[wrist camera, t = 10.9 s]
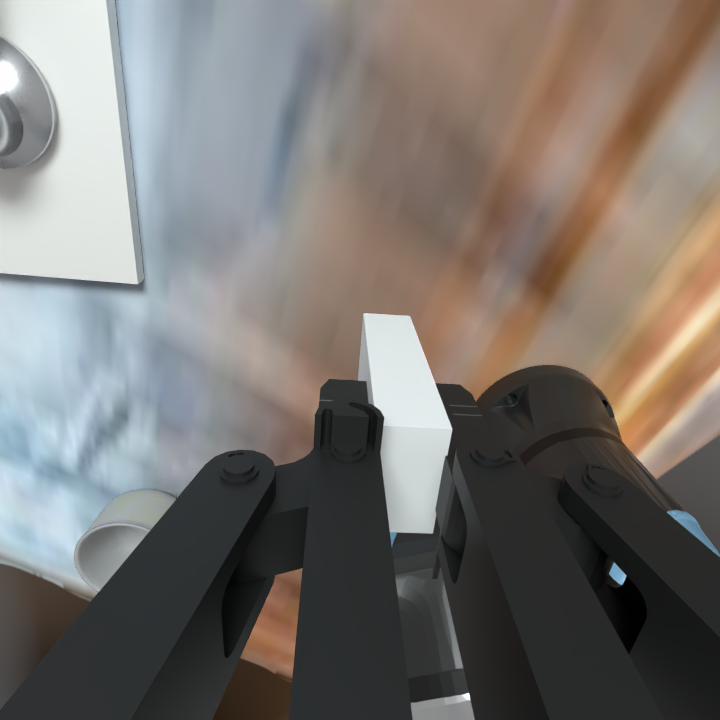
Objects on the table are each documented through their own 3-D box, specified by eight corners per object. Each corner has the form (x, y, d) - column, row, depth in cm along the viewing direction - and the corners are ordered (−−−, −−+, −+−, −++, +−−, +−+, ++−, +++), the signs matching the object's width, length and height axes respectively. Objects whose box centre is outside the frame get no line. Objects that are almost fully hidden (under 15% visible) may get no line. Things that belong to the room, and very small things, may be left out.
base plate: (144, 279, 43) (137, 284, 41) (-69, 261, 41) (-84, 266, 40) (106, -82, 32) (94, -93, 30) (-186, -123, 30) (-214, -137, 29)
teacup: (111, 540, 57) (78, 600, 50) (102, 469, 52) (64, 524, 45) (228, 548, 58) (213, 608, 51) (230, 480, 53) (213, 535, 46)
